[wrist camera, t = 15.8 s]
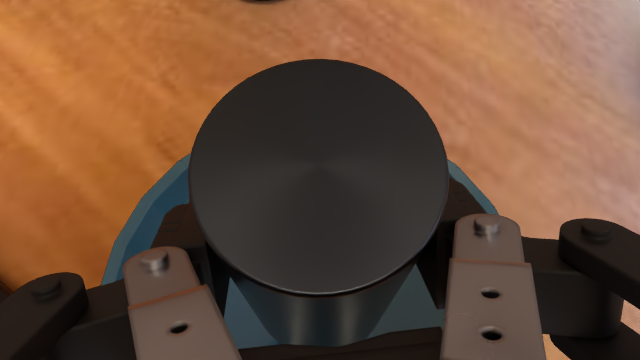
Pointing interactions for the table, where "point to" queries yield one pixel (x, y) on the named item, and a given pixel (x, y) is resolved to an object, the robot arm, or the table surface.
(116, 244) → the bowl
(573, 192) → the table surface
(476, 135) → the table surface
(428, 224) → the black cylinder
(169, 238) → the robot arm
